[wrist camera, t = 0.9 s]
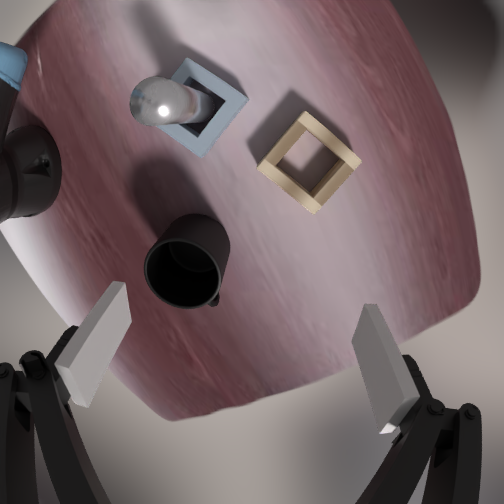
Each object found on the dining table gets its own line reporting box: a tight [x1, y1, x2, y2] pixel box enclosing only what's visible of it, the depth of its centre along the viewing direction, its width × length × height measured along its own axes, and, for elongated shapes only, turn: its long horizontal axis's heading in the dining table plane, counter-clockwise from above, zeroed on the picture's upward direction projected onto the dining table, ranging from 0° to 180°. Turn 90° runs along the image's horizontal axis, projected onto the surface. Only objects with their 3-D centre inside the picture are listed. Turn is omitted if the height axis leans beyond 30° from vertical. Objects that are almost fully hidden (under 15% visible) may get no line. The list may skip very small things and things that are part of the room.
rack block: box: [256, 111, 362, 215], centre depth 35 cm, size 9×9×3 cm
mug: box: [144, 214, 230, 309], centre depth 39 cm, size 9×12×9 cm
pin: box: [130, 76, 215, 126], centre depth 27 cm, size 4×4×16 cm
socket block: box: [157, 58, 249, 158], centre depth 33 cm, size 9×9×3 cm
